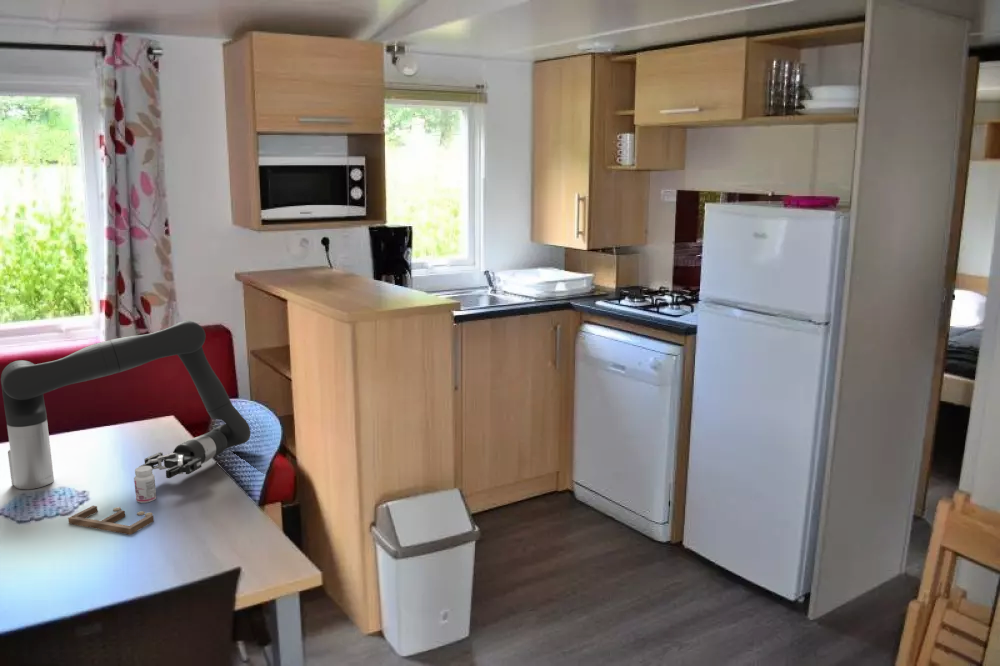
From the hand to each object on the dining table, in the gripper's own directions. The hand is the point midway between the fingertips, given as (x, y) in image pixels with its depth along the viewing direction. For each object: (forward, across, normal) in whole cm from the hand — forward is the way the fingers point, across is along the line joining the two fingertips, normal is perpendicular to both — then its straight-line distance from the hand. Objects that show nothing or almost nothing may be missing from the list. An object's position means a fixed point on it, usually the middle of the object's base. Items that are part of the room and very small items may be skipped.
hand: (153, 472), depth 211 cm
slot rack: (+16, +2, +6) cm, 18 cm away
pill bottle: (+3, 0, +6) cm, 7 cm away
